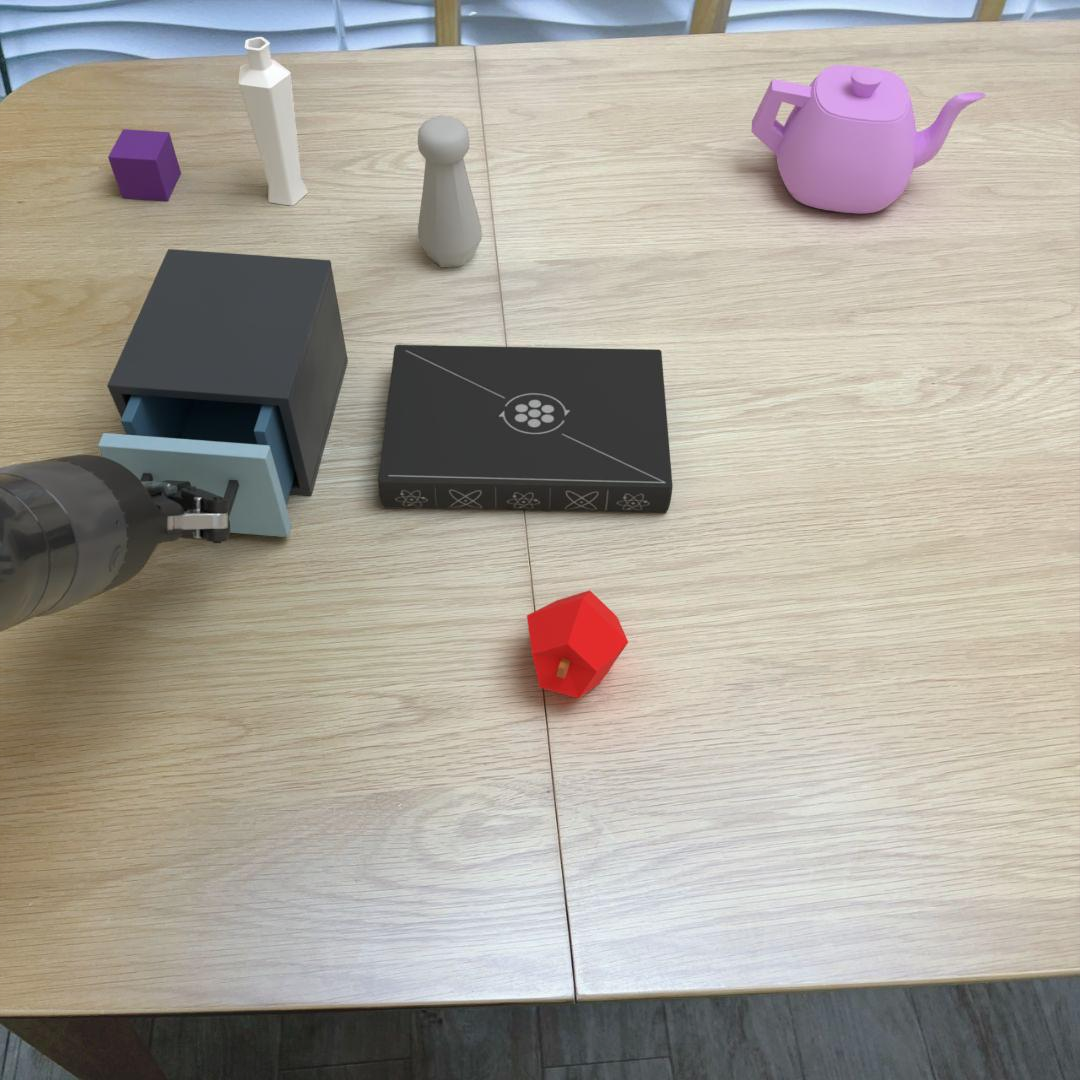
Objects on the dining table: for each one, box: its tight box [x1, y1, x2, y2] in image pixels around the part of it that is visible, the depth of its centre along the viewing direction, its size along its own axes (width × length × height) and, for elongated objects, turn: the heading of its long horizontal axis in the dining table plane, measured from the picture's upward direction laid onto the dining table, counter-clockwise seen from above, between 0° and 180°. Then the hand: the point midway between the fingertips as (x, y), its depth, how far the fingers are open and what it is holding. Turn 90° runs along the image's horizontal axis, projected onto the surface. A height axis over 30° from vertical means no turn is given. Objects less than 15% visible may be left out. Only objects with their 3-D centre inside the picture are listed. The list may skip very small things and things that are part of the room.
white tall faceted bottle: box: [237, 36, 309, 206], centre depth 99 cm, size 5×4×15 cm
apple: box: [526, 589, 629, 699], centre depth 72 cm, size 7×7×8 cm
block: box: [107, 128, 182, 202], centre depth 104 cm, size 4×4×4 cm
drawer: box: [97, 395, 296, 541], centre depth 79 cm, size 18×11×9 cm, turn 175°
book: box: [377, 344, 674, 513], centre depth 85 cm, size 22×15×3 cm
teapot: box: [751, 64, 987, 214], centre depth 103 cm, size 13×20×11 cm, turn 79°
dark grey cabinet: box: [106, 248, 349, 497], centre depth 83 cm, size 15×13×11 cm
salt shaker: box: [417, 115, 483, 268], centre depth 95 cm, size 6×6×13 cm
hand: (179, 496), depth 73 cm, fingers closed
